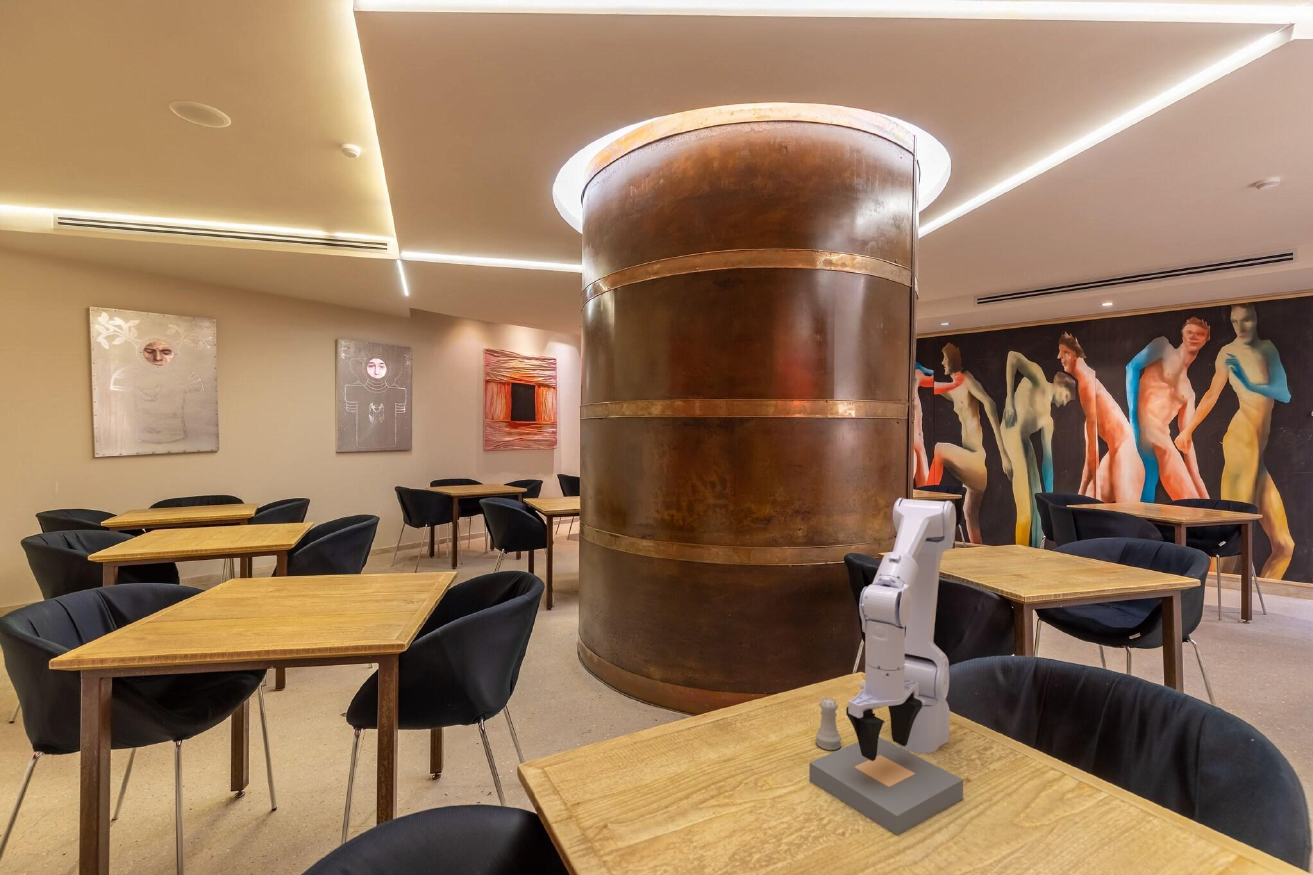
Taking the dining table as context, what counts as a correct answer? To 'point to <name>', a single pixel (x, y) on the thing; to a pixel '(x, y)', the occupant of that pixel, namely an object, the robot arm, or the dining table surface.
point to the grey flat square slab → (887, 785)
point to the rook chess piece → (828, 726)
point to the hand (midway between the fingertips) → (884, 750)
